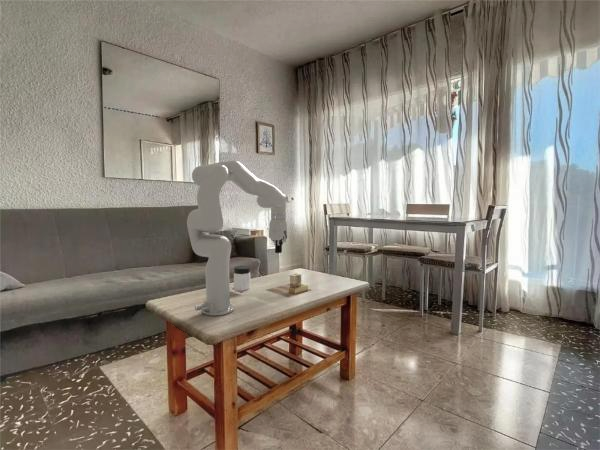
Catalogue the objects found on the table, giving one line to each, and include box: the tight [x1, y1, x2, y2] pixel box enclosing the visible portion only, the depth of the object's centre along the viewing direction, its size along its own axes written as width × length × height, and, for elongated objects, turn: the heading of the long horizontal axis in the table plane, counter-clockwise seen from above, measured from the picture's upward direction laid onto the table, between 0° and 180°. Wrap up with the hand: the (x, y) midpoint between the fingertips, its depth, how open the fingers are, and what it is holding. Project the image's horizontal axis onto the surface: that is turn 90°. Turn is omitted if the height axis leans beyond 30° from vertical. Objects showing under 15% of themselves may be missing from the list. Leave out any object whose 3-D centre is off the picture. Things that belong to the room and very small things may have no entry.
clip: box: [289, 283, 309, 294], centre depth 152 cm, size 9×4×2 cm, turn 134°
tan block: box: [289, 273, 302, 288], centre depth 153 cm, size 4×4×8 cm
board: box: [265, 283, 313, 298], centre depth 155 cm, size 17×17×1 cm
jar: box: [233, 265, 252, 294], centre depth 158 cm, size 9×8×12 cm
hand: (278, 252), depth 161 cm, fingers closed
